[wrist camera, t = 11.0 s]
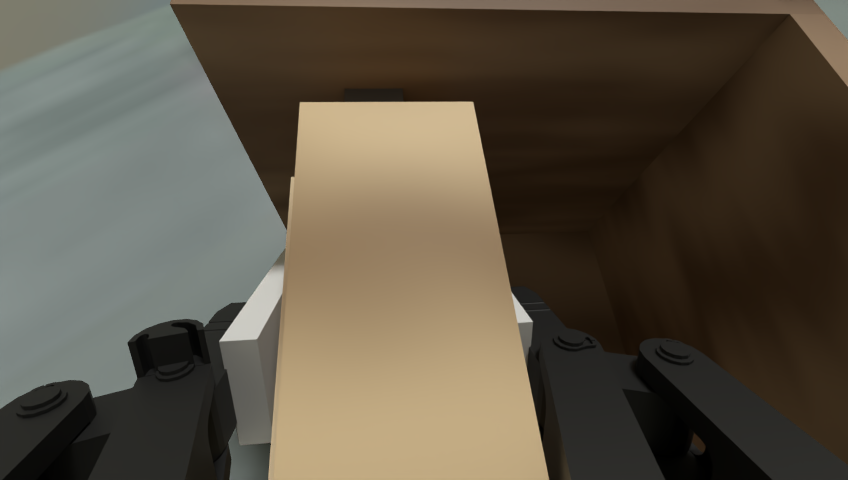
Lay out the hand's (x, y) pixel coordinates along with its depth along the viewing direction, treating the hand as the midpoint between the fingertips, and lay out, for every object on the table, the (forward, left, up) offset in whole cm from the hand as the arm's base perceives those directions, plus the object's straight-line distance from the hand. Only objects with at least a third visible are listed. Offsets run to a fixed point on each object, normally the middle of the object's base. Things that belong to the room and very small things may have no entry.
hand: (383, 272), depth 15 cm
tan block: (-3, +2, -5) cm, 6 cm away
